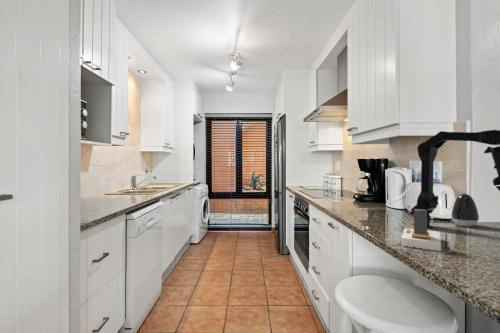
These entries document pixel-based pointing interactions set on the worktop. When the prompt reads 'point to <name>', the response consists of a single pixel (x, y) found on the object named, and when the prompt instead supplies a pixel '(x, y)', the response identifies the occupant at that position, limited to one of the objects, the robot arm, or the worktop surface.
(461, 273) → the worktop surface
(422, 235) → the plug
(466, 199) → the black egg-shaped dome
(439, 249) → the socket block
